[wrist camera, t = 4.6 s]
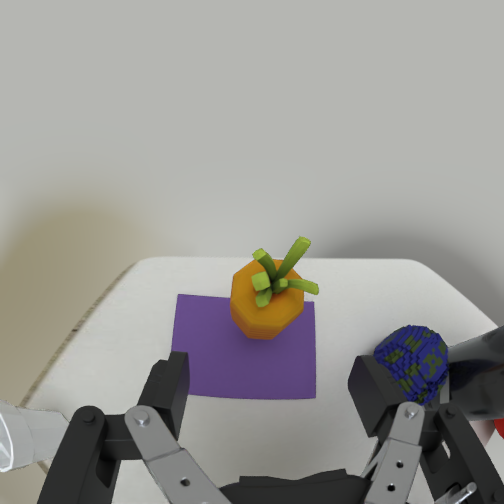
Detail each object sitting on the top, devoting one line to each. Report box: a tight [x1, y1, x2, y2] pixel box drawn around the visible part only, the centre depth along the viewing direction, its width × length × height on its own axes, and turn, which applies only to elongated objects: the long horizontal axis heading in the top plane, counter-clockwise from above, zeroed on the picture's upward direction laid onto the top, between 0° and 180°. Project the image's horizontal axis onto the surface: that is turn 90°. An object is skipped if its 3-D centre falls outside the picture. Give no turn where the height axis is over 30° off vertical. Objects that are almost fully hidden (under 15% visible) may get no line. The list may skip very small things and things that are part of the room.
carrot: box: [230, 237, 319, 340], centre depth 19 cm, size 5×5×15 cm
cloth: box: [171, 294, 316, 399], centre depth 25 cm, size 14×10×1 cm
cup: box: [0, 399, 69, 472], centre depth 13 cm, size 7×7×11 cm
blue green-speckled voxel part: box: [373, 325, 450, 406], centre depth 21 cm, size 8×8×8 cm
